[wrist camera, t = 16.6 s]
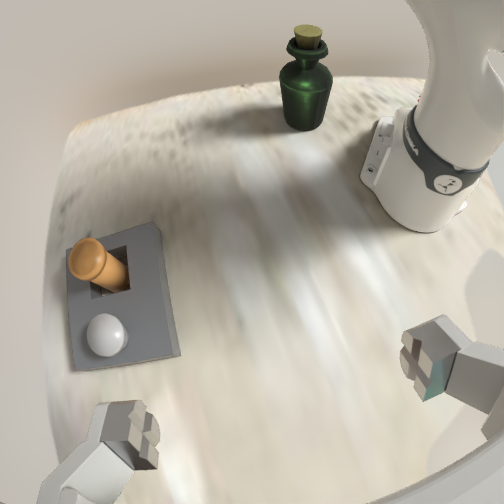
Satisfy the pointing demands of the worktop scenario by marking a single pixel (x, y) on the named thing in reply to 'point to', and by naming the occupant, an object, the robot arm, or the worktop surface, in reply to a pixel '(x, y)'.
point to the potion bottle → (305, 79)
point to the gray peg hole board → (124, 307)
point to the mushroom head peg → (98, 266)
